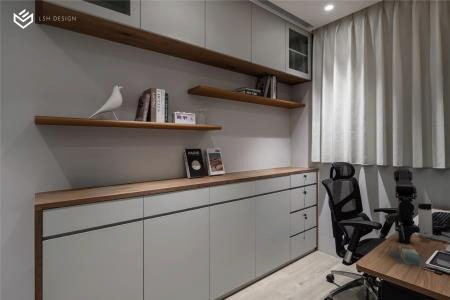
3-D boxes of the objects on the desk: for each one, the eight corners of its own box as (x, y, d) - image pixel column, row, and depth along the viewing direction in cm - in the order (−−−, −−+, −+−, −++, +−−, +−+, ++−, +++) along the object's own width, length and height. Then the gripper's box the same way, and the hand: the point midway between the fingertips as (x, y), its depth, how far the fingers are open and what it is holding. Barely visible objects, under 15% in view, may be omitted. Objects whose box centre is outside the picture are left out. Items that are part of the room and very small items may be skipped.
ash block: (399, 244, 118) (405, 252, 109) (411, 246, 116) (418, 254, 107) (399, 255, 118) (405, 263, 109) (412, 256, 116) (419, 265, 107)
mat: (388, 250, 125) (388, 249, 125) (417, 254, 120) (417, 253, 120) (396, 264, 110) (396, 263, 110) (429, 269, 105) (429, 267, 105)
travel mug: (427, 239, 139) (427, 204, 140) (416, 235, 146) (415, 202, 146) (435, 237, 141) (434, 203, 141) (423, 234, 147) (422, 201, 148)
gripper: (382, 204, 128) (382, 233, 128) (389, 212, 111) (390, 246, 111) (407, 205, 123) (408, 235, 123) (419, 214, 106) (420, 249, 106)
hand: (406, 241), depth 116 cm, fingers closed
